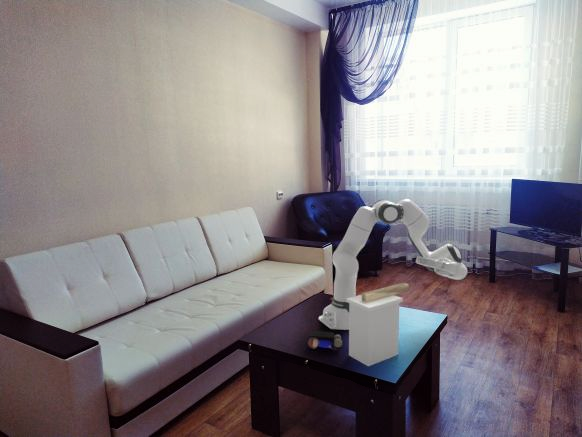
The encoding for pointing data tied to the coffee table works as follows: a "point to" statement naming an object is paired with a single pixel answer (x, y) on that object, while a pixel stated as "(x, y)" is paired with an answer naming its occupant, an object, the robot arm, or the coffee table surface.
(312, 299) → the coffee table surface
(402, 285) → the beech bar
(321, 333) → the figurine character
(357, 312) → the pedestal
